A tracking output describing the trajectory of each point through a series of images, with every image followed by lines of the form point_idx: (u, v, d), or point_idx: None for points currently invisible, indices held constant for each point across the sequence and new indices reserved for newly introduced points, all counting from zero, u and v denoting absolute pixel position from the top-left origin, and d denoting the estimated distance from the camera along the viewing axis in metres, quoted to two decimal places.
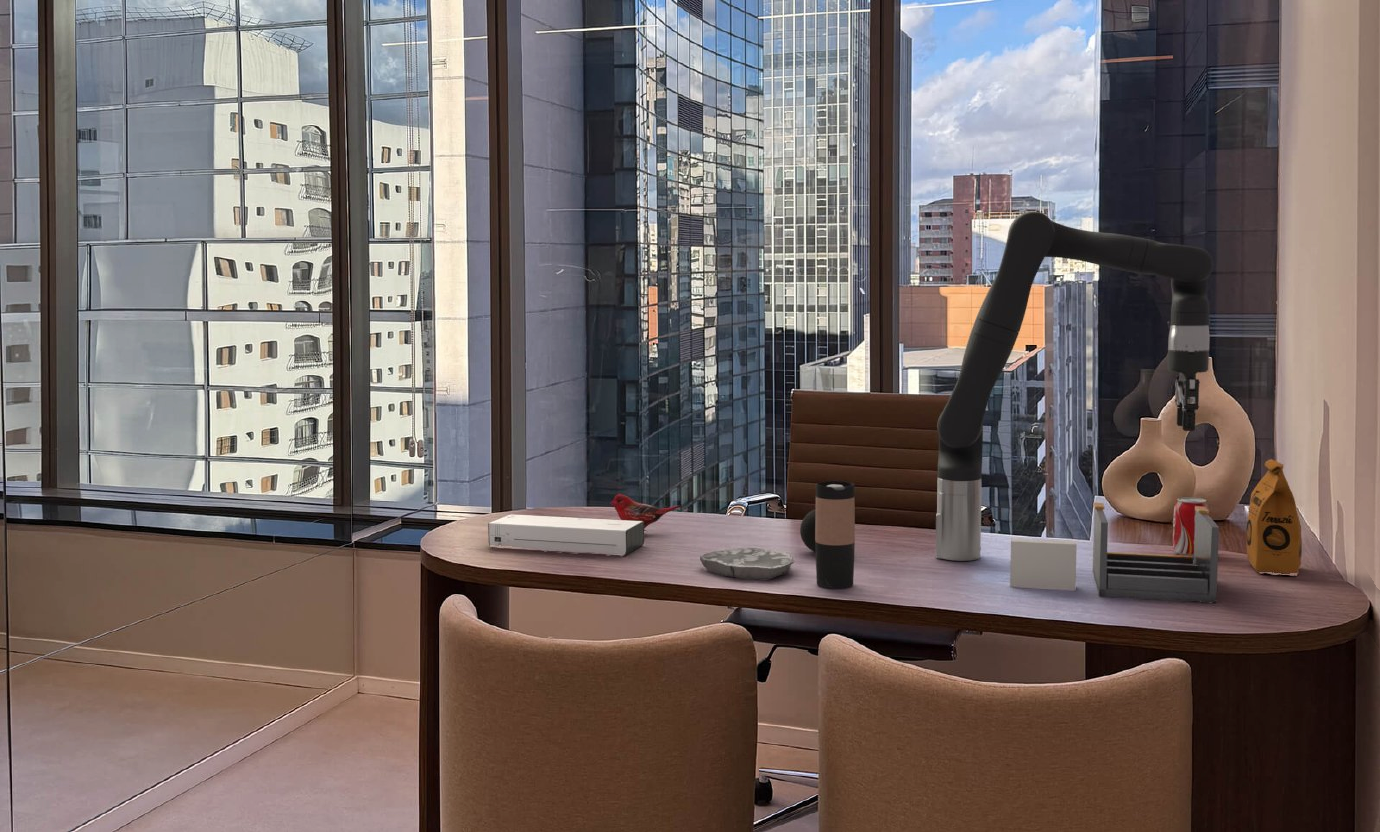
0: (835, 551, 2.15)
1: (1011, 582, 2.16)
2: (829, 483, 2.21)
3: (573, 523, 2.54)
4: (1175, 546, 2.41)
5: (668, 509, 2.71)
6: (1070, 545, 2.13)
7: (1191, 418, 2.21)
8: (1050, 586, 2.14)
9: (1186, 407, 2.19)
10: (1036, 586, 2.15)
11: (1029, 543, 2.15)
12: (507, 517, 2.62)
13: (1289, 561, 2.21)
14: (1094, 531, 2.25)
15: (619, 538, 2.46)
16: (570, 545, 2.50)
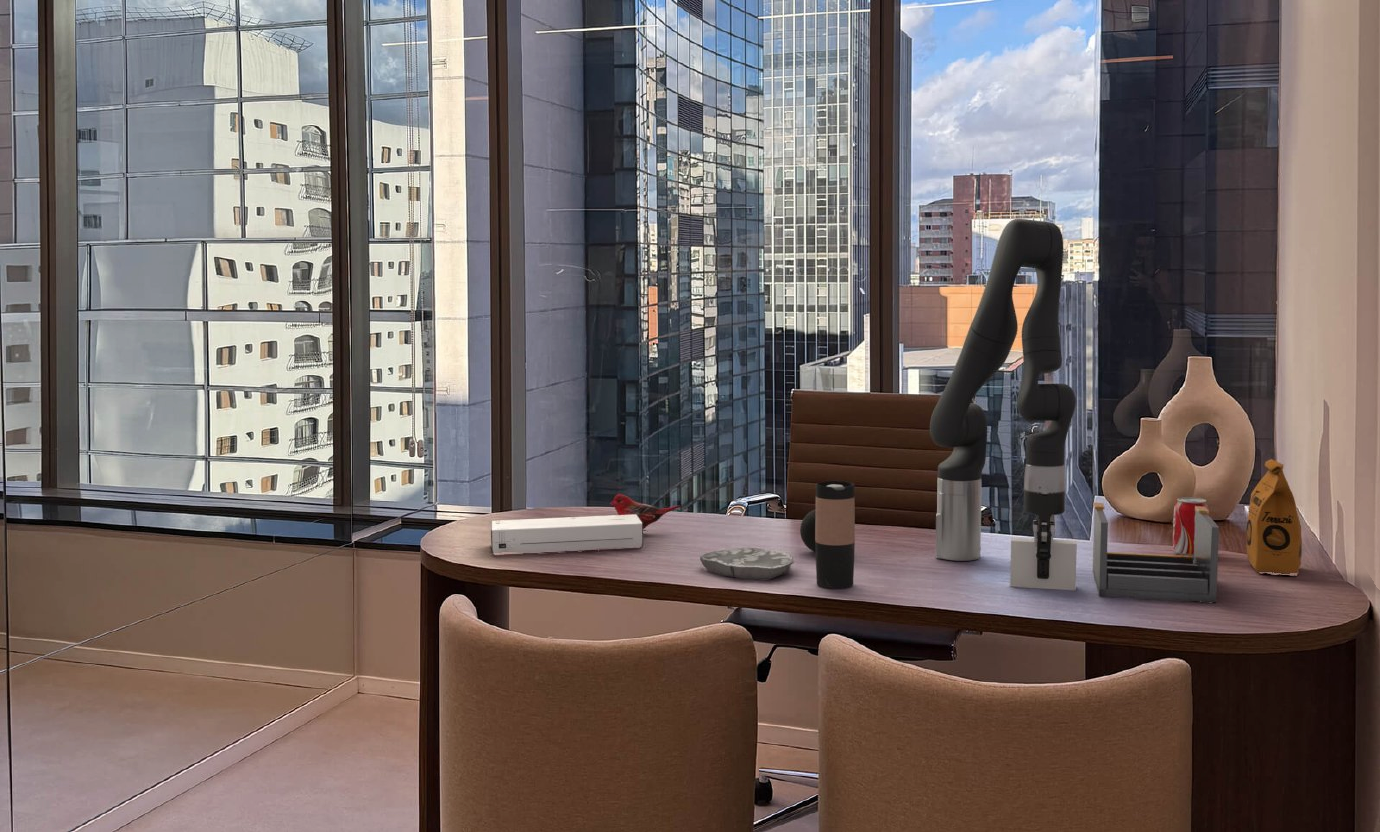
0: (835, 551, 2.15)
1: (1011, 582, 2.16)
2: (829, 483, 2.21)
3: (577, 522, 2.56)
4: (1175, 546, 2.41)
5: (668, 509, 2.71)
6: (1070, 545, 2.13)
7: (1045, 566, 2.13)
8: (1050, 585, 2.14)
9: (1038, 556, 2.11)
10: (1036, 586, 2.15)
11: (1029, 543, 2.15)
12: (496, 523, 2.55)
13: (1289, 561, 2.21)
14: (1094, 531, 2.25)
15: (635, 531, 2.54)
16: (583, 543, 2.52)
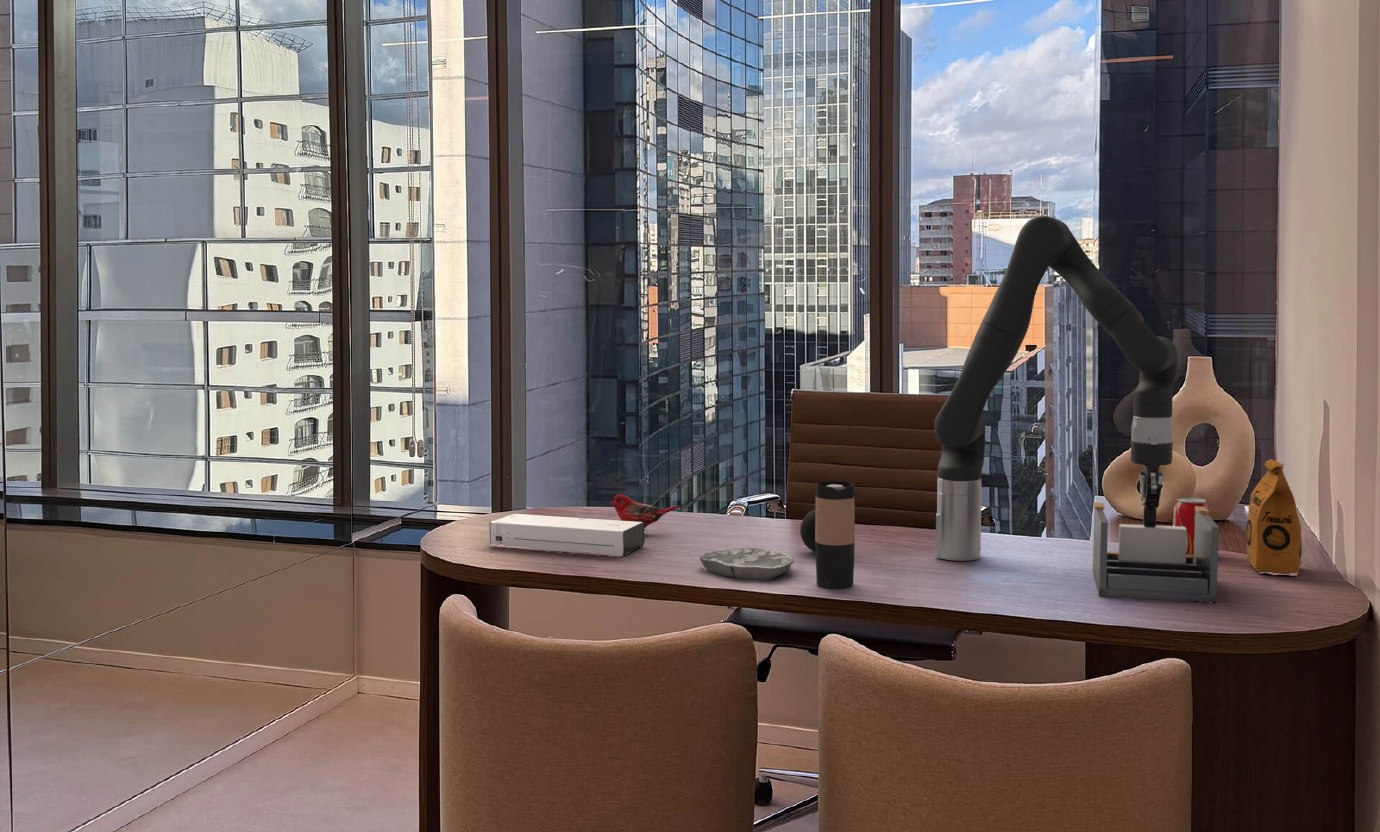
0: (835, 551, 2.15)
1: None
2: (829, 483, 2.21)
3: (573, 523, 2.54)
4: None
5: (668, 509, 2.71)
6: (1180, 530, 2.17)
7: (1152, 515, 2.18)
8: None
9: (1146, 504, 2.17)
10: None
11: (1139, 528, 2.19)
12: (510, 516, 2.63)
13: (1289, 561, 2.21)
14: (1094, 531, 2.25)
15: (617, 539, 2.46)
16: (569, 545, 2.50)
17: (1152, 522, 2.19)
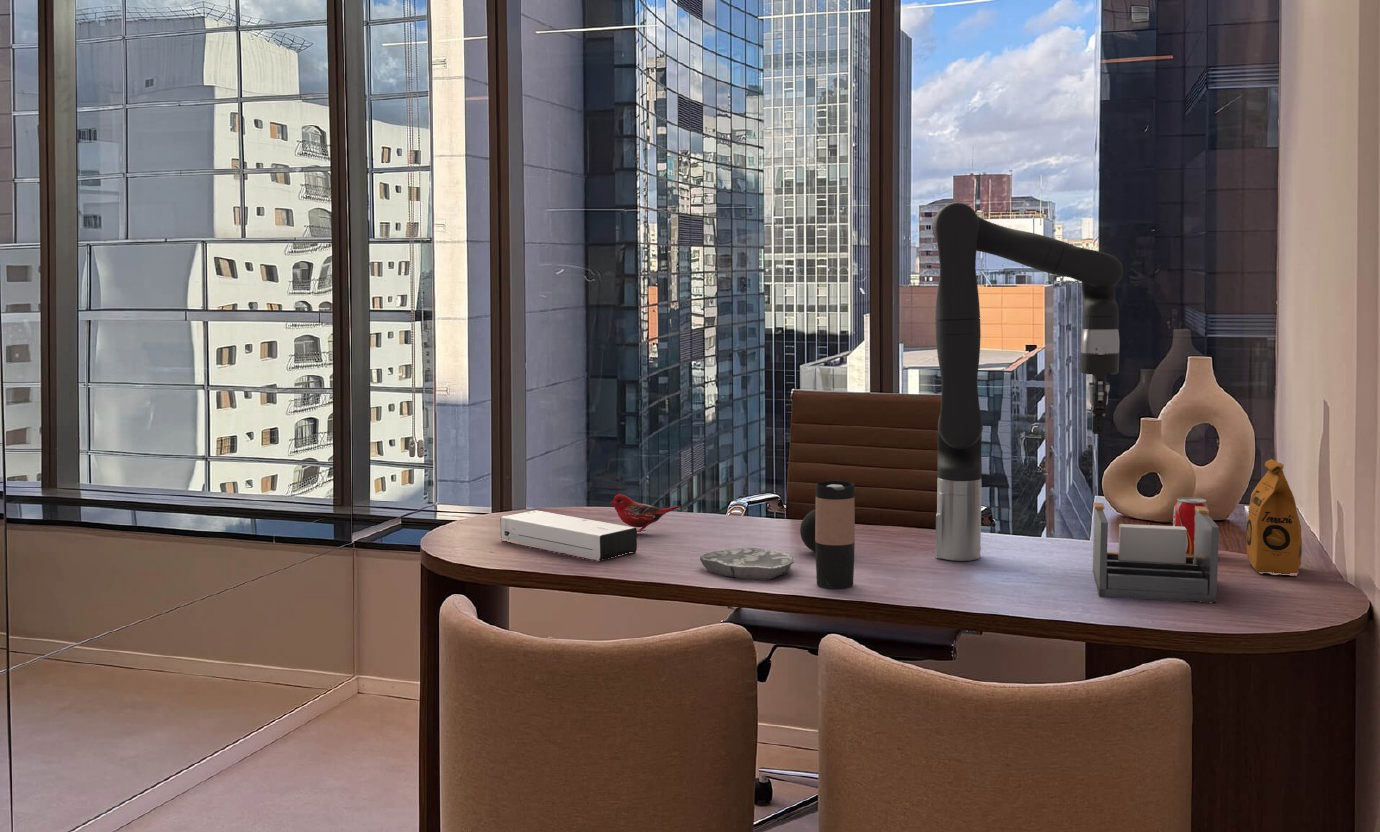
0: (835, 551, 2.15)
1: None
2: (829, 483, 2.21)
3: (569, 524, 2.54)
4: None
5: (668, 509, 2.71)
6: (1180, 530, 2.17)
7: (1100, 422, 2.34)
8: None
9: (1094, 411, 2.32)
10: None
11: (1139, 528, 2.19)
12: (527, 513, 2.68)
13: (1289, 561, 2.21)
14: (1094, 531, 2.25)
15: (595, 543, 2.42)
16: (558, 545, 2.50)
17: (1100, 429, 2.34)
